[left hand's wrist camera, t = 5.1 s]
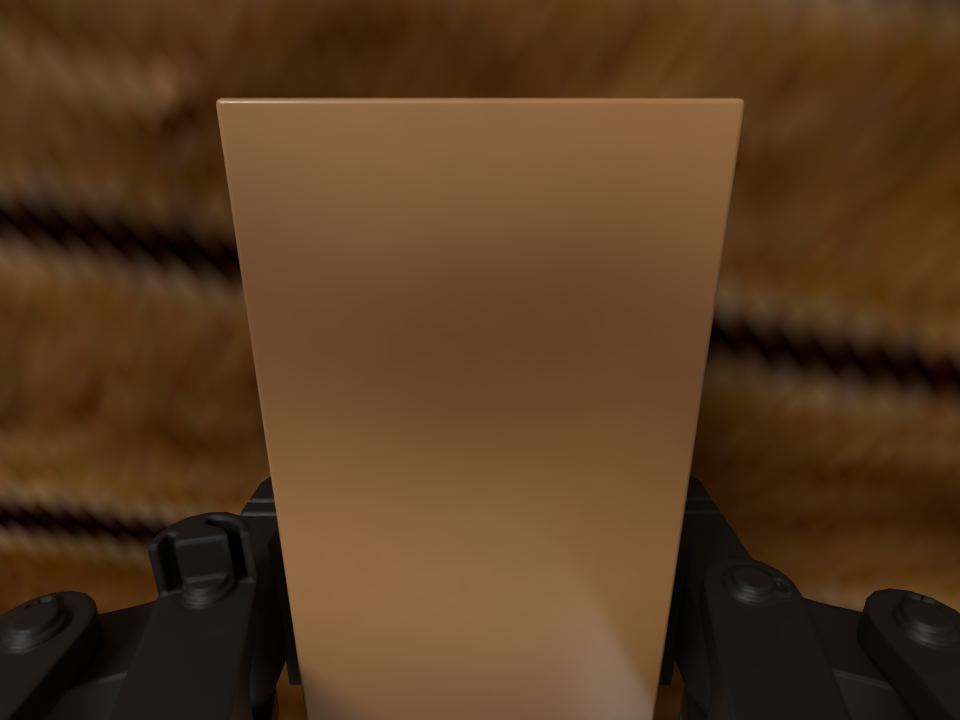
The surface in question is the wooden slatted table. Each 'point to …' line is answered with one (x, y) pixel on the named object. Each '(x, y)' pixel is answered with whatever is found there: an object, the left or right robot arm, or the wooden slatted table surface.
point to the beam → (480, 387)
